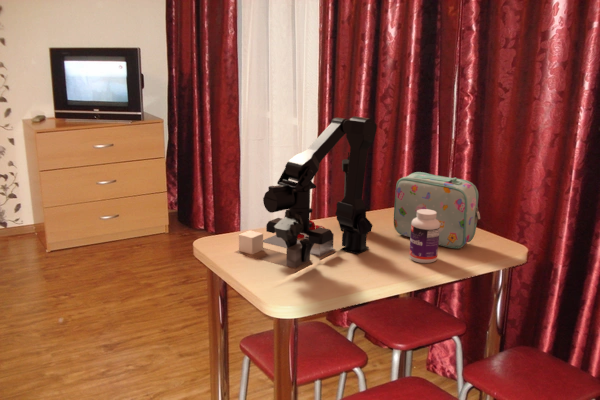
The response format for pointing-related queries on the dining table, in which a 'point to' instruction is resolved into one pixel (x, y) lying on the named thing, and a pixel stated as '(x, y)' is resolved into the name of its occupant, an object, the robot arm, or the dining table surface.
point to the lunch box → (438, 206)
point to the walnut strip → (282, 256)
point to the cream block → (251, 242)
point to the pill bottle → (424, 237)
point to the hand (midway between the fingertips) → (298, 260)
